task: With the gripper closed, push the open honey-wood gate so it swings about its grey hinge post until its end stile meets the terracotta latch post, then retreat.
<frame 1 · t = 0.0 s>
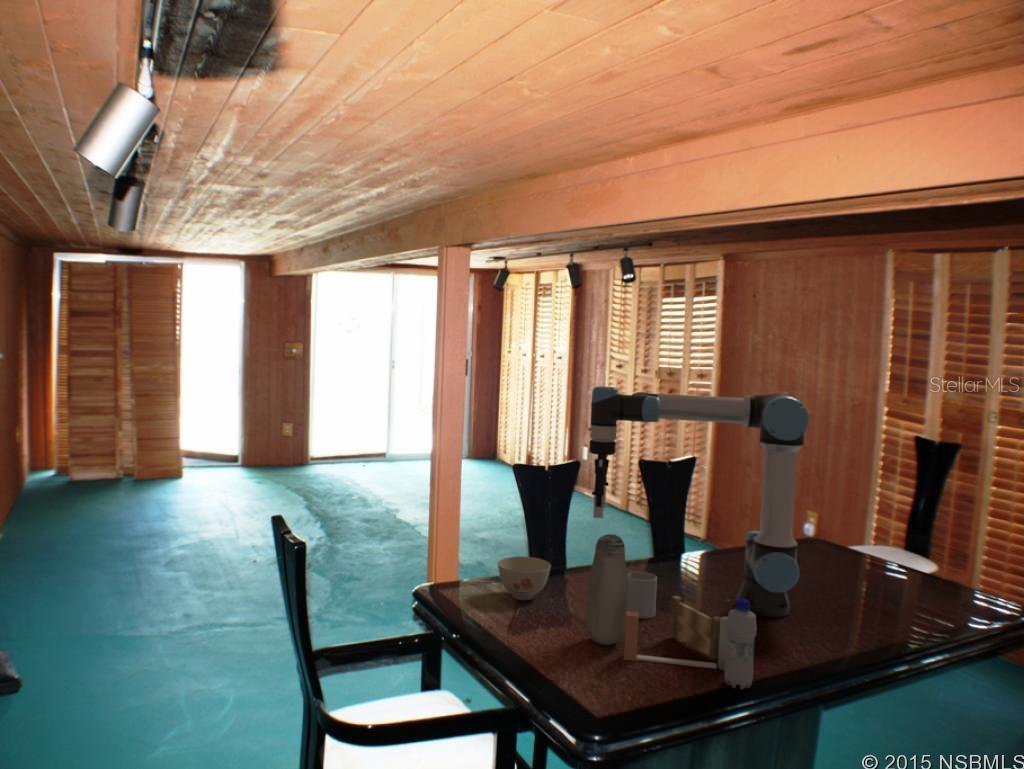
hand: (599, 512, 219), 28 cm above the table, fingers open, 13 cm apart
fence: (724, 667, 182), on the table
white tapered flask: (605, 643, 194), on the table
gate: (694, 626, 192), point 6 cm above the table, hinge at -55.0°
mug: (637, 611, 219), on the table
bottle: (737, 686, 173), on the table
bowl: (522, 597, 227), on the table
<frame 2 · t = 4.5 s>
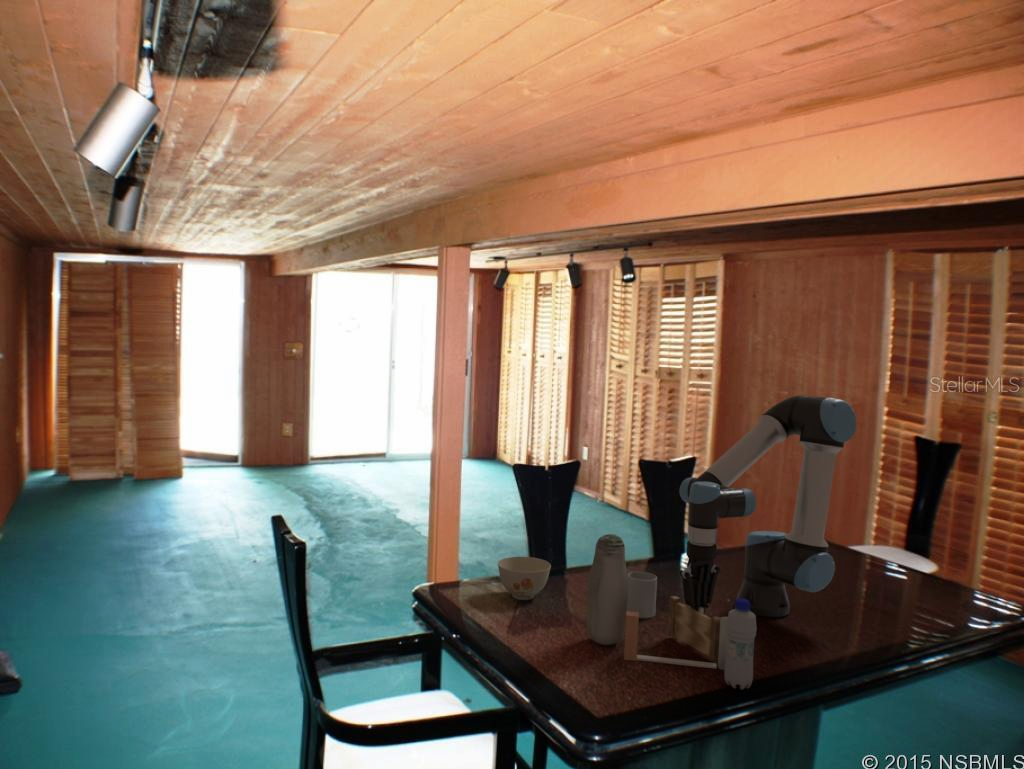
hand: (696, 631, 197), 3 cm above the table, fingers closed
gate: (693, 626, 192), point 6 cm above the table, hinge at -53.5°, touching gripper
everything else where it was.
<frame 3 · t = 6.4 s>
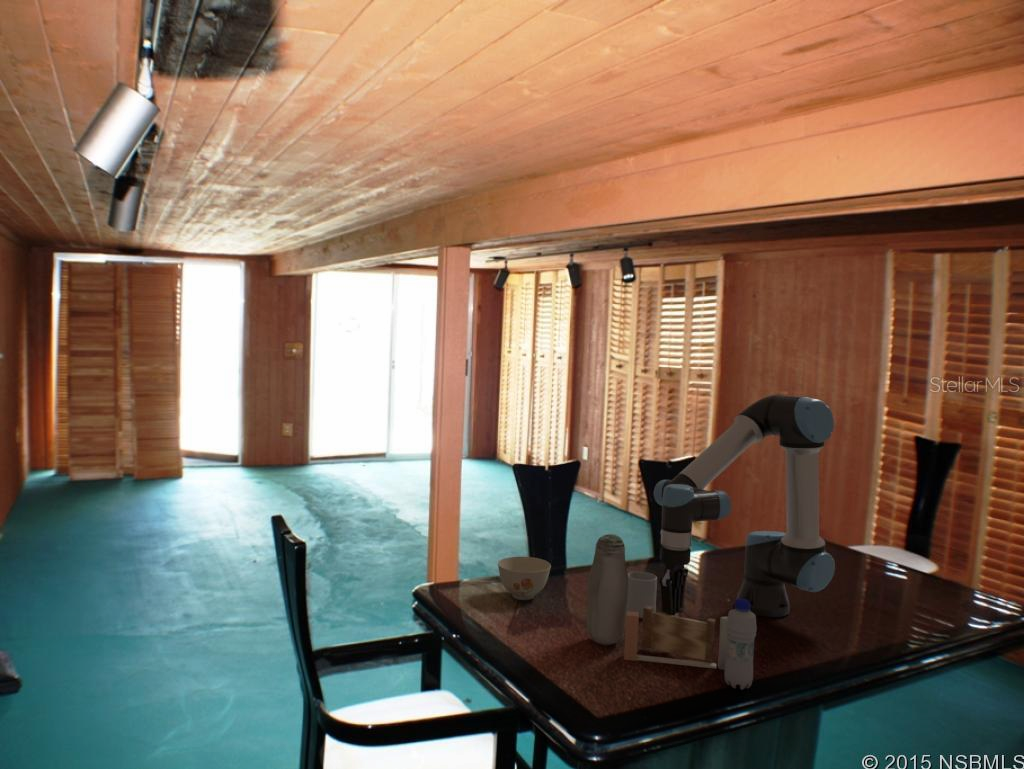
hand: (671, 637, 192), 3 cm above the table, fingers closed
gate: (677, 633, 187), point 6 cm above the table, hinge at -17.2°, touching gripper
everything else where it was.
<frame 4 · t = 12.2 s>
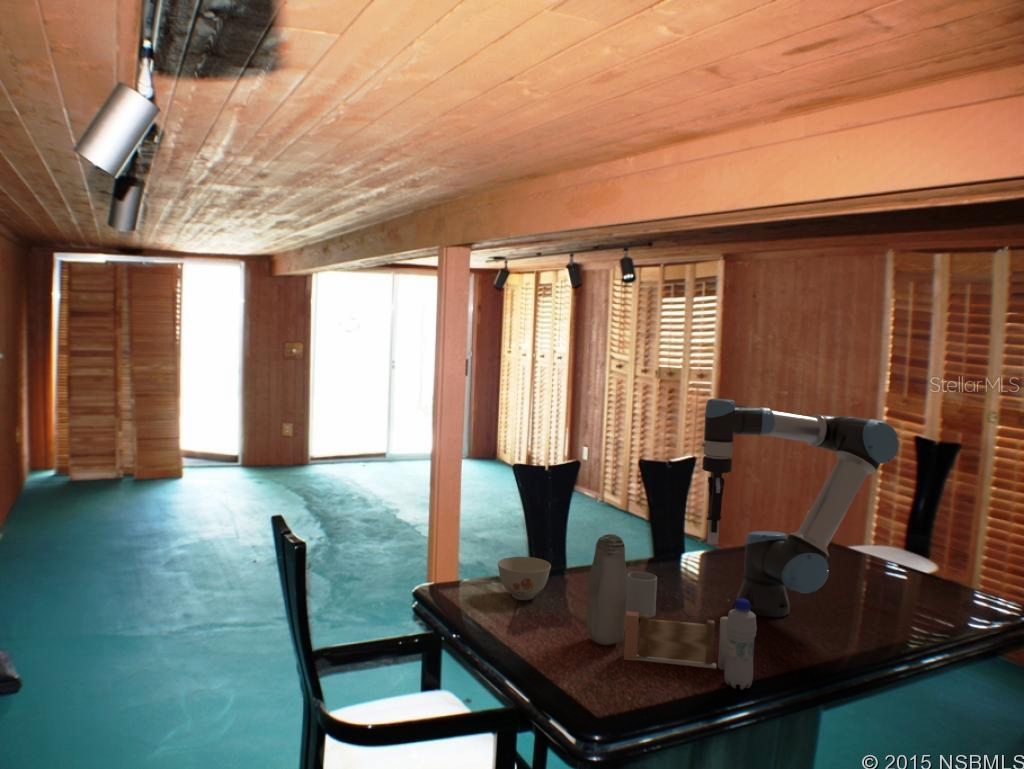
hand: (712, 543, 203), 24 cm above the table, fingers closed
gate: (676, 638, 183), point 6 cm above the table, hinge at 0.4°
everything else where it was.
at the end: gate at +0° (first picture: -55°) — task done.
